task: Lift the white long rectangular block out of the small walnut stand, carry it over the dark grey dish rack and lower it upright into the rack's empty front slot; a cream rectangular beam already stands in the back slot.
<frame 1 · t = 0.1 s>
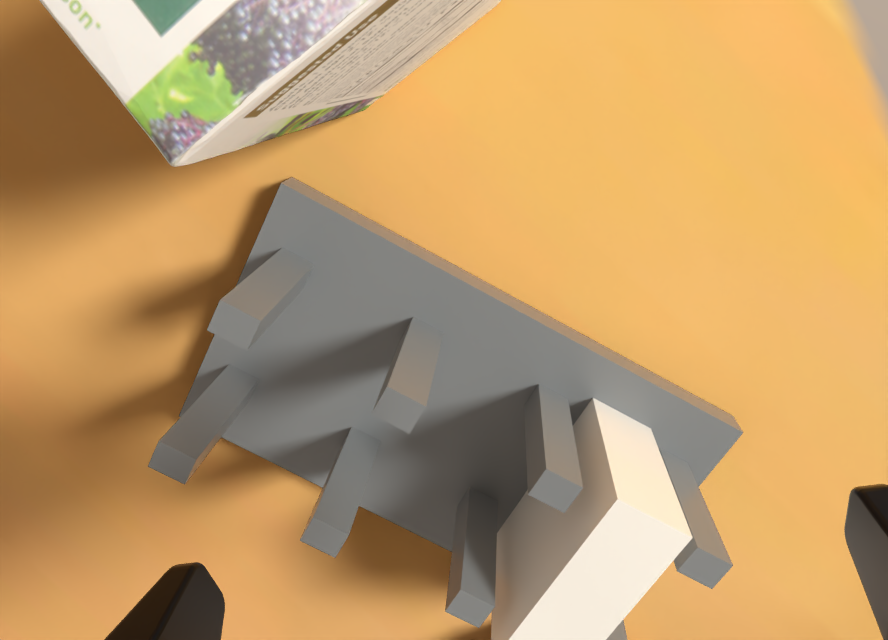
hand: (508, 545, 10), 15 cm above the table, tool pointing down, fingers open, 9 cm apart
cream rectangular beam: (569, 485, 26), point 1 cm above the table, touching rack
rack: (453, 408, 26), on the table
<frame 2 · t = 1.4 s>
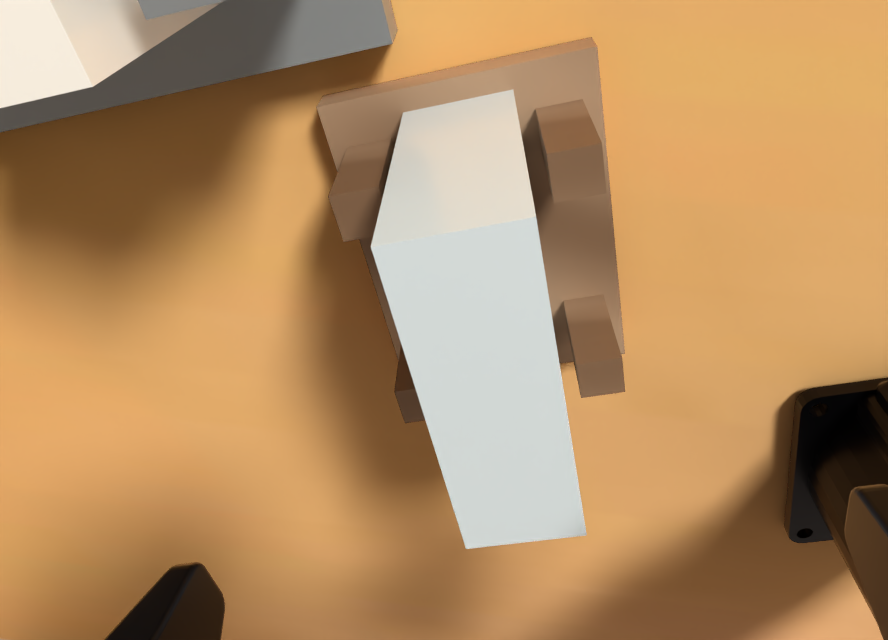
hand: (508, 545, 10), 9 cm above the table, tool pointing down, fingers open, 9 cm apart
stand: (486, 228, 17), on the table
white long rectangular block: (487, 243, 17), point 1 cm above the table, touching stand
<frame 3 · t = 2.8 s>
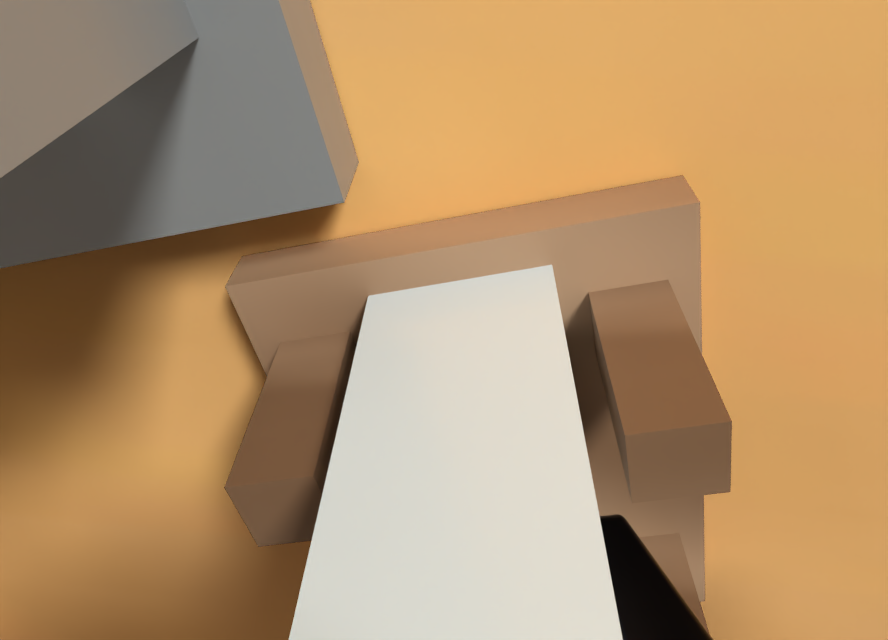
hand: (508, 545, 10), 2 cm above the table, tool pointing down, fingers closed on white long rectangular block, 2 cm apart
stand: (502, 433, 11), on the table
white long rectangular block: (503, 469, 11), point 1 cm above the table, touching gripper, stand
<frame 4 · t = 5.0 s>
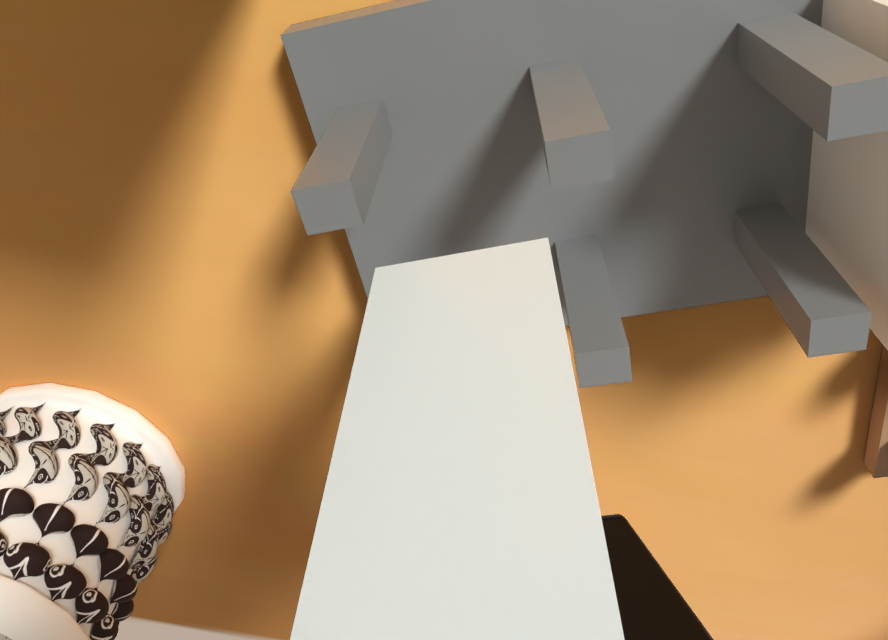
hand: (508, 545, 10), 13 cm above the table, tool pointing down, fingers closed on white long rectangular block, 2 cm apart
decorative candle: (84, 458, 28), on the table
cream rectangular beam: (863, 119, 18), point 1 cm above the table, touching rack
rack: (652, 140, 19), on the table
white long rectangular block: (503, 436, 11), point 11 cm above the table, touching gripper
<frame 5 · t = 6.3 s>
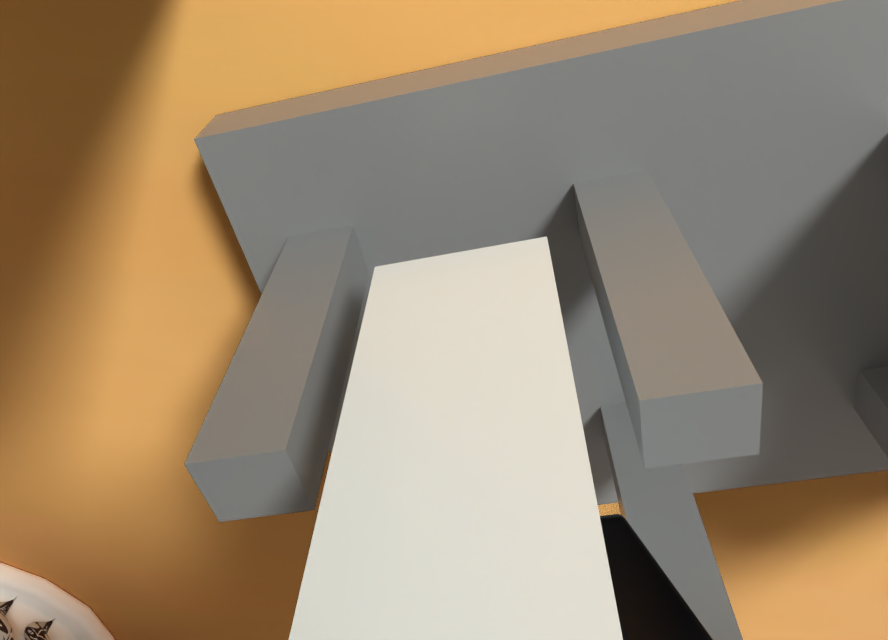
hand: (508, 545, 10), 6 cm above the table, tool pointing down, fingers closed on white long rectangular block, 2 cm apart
rack: (740, 268, 14), on the table
white long rectangular block: (502, 435, 11), point 4 cm above the table, touching gripper
when the fingers open (4 cm above the table, at t = 7.2 s): white long rectangular block stays where it is, resting on rack.
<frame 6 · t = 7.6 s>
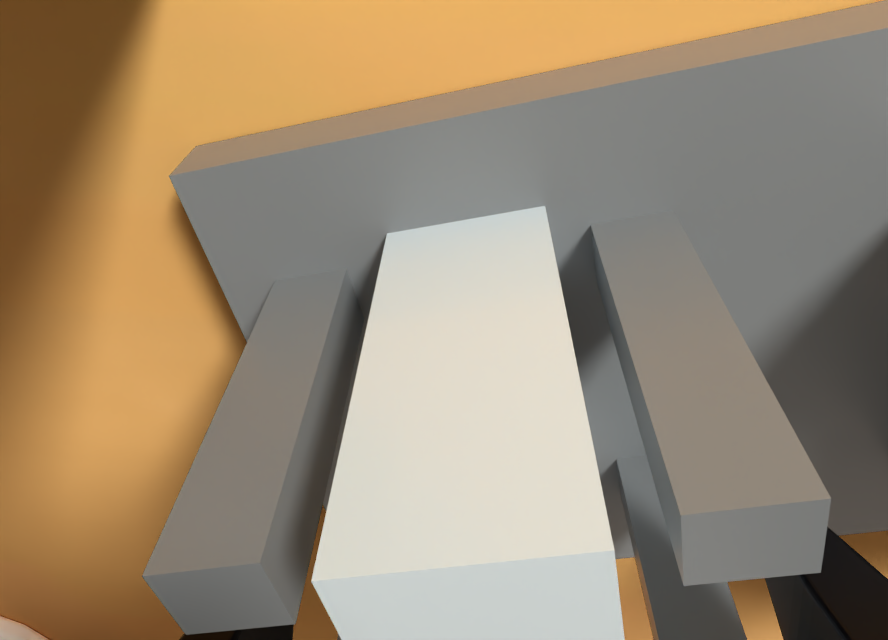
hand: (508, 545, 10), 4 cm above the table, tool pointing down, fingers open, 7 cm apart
rack: (770, 311, 12), on the table
white long rectangular block: (502, 395, 12), point 1 cm above the table, touching rack
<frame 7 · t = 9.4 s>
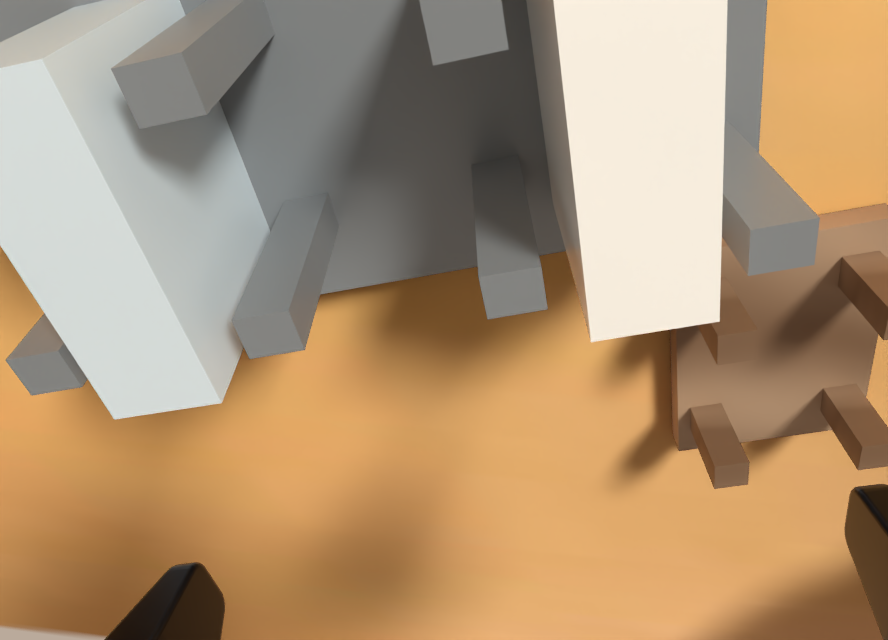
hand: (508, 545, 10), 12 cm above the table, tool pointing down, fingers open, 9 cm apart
stand: (766, 332, 22), on the table
cream rectangular beam: (586, 58, 16), point 1 cm above the table, touching rack
rack: (382, 87, 18), on the table
white long rectangular block: (187, 144, 17), point 1 cm above the table, touching rack
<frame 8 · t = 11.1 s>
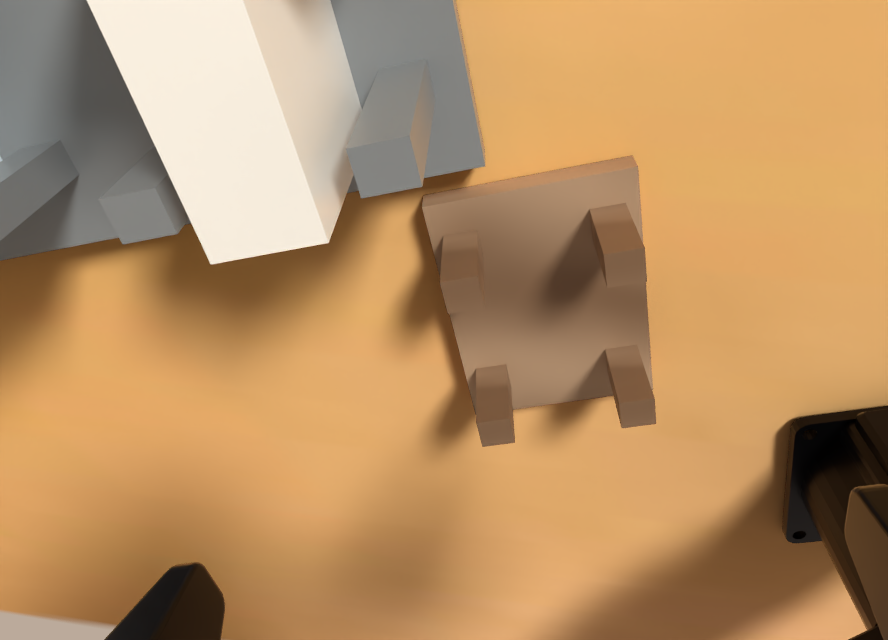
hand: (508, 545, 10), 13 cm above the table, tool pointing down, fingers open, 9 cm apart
stand: (544, 292, 22), on the table
cream rectangular beam: (278, 0, 16), point 1 cm above the table, touching rack
rack: (108, 35, 18), on the table
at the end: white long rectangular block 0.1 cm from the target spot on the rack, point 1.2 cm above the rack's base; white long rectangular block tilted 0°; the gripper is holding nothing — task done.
